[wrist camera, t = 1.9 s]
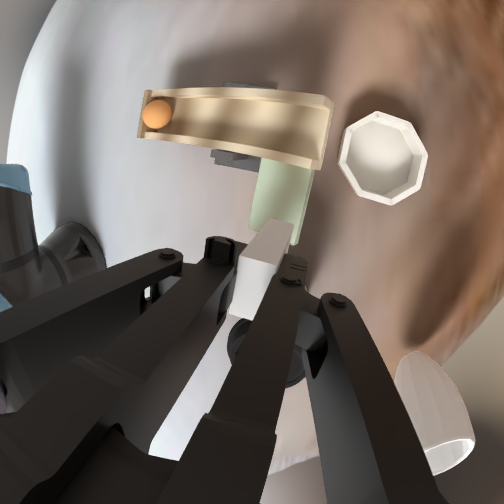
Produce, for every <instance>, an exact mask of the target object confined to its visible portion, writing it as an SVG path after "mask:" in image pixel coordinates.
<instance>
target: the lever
mask: <svg viewBox="0 0 504 504" xmlns="http://www.w3.org/2000/svg"><path fill="white" fill-rule="evenodd" d="M154 100H162V101H165V102H166V103H168V104H169V106H170V107H171V110H172V116H171V119H170V121H169V122H168V123H167V124H166V125H165V126H163V127H161V128H151V127H148V126H147V125H146V124H145V123H144V121H143V118H142V113H143V110H144V108H145V106H146V105H147V104H148V103H150V102H152V101H154ZM333 109H334V103H333V102H332V101H331V100H330V99H328V98H327V97H326V96H325V95H318V94H311V93H303V92H294V91H285V90H273V89H258V88H232V87H204V88H179V89H164V90H145V92H144V98H143V103H142V108H141V114H140V120H139V127H138V133H137V138H147V139H156V140H164V141H171V142H178V143H185V144H192V145H198V146H204V147H210V148H216V149H222V150H227V151H232V152H237V153H242V154H247V155H252V156H257V157H261V163H260V168H259V174H258V179H257V184H256V189H255V194H254V199H253V205H252V210H251V215H250V220H249V226H248V228H249V229H252V230H255V231H257V232H259V231H260V230H261V228H262V227H263V226H264V225H265V224H266V222H267V221H268V220H269V219H270V218H272V219H276V220H280V221H284V222H288V223H292V224H294V228H293V232H292V237H291V241H290V244H291V245H296V244H298V240H299V236H300V232H301V228H302V224H303V220H304V216H305V212H306V207H307V203H308V199H309V195H310V190H311V186H312V182H313V177H314V173H315V170H321V167H322V162H323V158H324V153H325V148H326V144H327V139H328V134H329V129H330V124H331V119H332V114H333Z"/></svg>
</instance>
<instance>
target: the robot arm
mask: <svg viewBox="0 0 504 504" xmlns="http://www.w3.org/2000/svg"><path fill="white" fill-rule="evenodd" d="M31 195H32V192H31V191H30V183H29V174H28V171H27V169H26V168H25V167H24V166H22V165H19V164H0V504H260V503H259V502H260V499H261V496H262V492H263V489H264V485H265V482H266V478H267V475H268V471H269V467H270V464H271V460H272V456H273V452H274V448H275V444H276V438H277V435H276V434H275V429H276V425H277V421H278V417H279V413H280V409H281V404H282V400H283V396H284V391H285V387H286V382H287V378H288V373H289V369H290V364H291V359H292V354H293V349H294V344H296V345H298V346H300V347H302V359H303V364H304V369H305V374H306V380H307V385H308V390H309V396H310V401H311V407H312V412H313V418H314V424H315V429H316V435H317V441H318V447H319V453H320V459H321V466H322V471H323V478H324V485H325V491H326V497H327V504H449V503H448V502H447V501H446V500H445V498H444V497H443V496H442V494H441V493H440V492H439V490H438V488H437V485H436V482H435V479H434V476H433V474H432V471H431V468H430V466H429V463H428V460H427V458H426V455H425V453H424V450H423V448H422V445H421V443H420V440H419V438H418V436H417V433H416V431H415V428H414V426H413V424H412V421H411V419H410V417H409V414H408V412H407V410H406V408H405V405H404V403H403V401H402V399H401V397H400V394H399V392H398V390H397V388H396V386H395V384H394V382H393V380H392V377H391V375H390V373H389V371H388V369H387V367H386V365H385V363H384V361H383V359H382V357H381V355H380V353H379V351H378V349H377V347H376V345H375V343H374V341H373V339H372V337H371V335H370V333H369V331H368V329H367V328H366V326H365V324H364V322H363V320H362V318H361V316H360V314H359V313H358V311H357V309H356V307H355V305H354V304H353V302H352V301H351V300H350V299H348V298H347V297H346V296H344V295H343V296H342V295H341V294H336V293H326V294H323V295H322V296H321V299H318V298H316V297H314V296H312V295H311V294H309V293H308V292H307V291H306V290H305V282H304V280H305V274H306V268H307V262H306V261H305V259H304V258H301V257H297V256H293V255H290V254H287V253H288V249H289V245H290V241H291V237H292V232H293V228H294V224H292V223H288V222H284V221H280V220H276V219H272V218H270V219H269V220H268V221H267V222H266V224H265V225H264V226H263V227H262V228H261V230H260V231H259V232H258V233H257V234H256V236H255V237H254V238H253V239H252V241H251V242H250V243H249V244H245V243H241V242H237V241H234V240H233V239H230V238H227V237H221V236H212V237H208V238H206V244H205V252H204V258H202V259H201V260H200V261H199V262H198V263H197V264H190V263H183V255H182V253H180V252H179V251H176V250H174V249H171V248H170V249H169V248H165V249H158V250H154V251H152V252H149V253H146V254H143V255H141V256H138V257H135V258H133V259H130V260H127V261H125V262H122V263H119V264H117V265H114V266H112V267H109V268H106V264H105V260H104V256H103V253H102V251H101V248H100V246H99V244H98V242H97V241H96V239H95V238H94V236H93V235H92V234H91V233H90V232H89V231H88V230H87V229H86V228H85V227H84V226H82V225H80V224H78V223H74V222H70V223H67V224H64V225H62V226H59V227H58V228H56V229H55V230H54V232H52V233H51V234H50V235H49V236H48V237H47V238H46V239H45V240H44V241H43V242H42V243H41V244H40V245H39V246H38V243H37V238H36V232H35V225H34V218H33V211H32V200H31ZM149 286H150V297H148V298H145V293H144V290H145V289H146V288H147V287H149ZM230 304H231V305H230ZM229 306H230V310H229V314H232V315H235V316H239V317H242V318H245V319H249V320H252V323H251V325H250V327H249V330H248V332H247V334H246V336H245V338H244V341H243V343H242V345H241V347H240V349H239V351H238V354H237V356H236V358H235V360H234V362H233V364H232V366H231V369H230V371H229V373H228V375H227V377H226V379H225V381H224V383H223V386H222V388H221V390H220V392H219V394H218V396H217V398H216V400H215V402H214V404H213V406H212V408H211V410H210V412H209V413H208V414H207V413H205V414H204V415H203V416H202V418H201V420H200V422H199V423H198V425H197V427H196V429H195V431H194V433H193V435H192V437H191V439H190V441H189V443H188V445H187V447H186V448H185V450H184V452H183V454H182V456H181V458H180V460H179V461H176V460H170V459H165V458H161V457H156V456H152V455H148V453H149V448H150V444H151V442H152V440H153V438H154V436H155V435H156V433H157V431H158V430H159V428H160V427H161V425H162V423H163V422H164V420H165V418H166V417H167V415H168V414H169V412H170V410H171V409H172V407H173V405H174V404H175V402H176V400H177V399H178V397H179V396H180V394H181V392H182V391H183V389H184V387H185V386H186V384H187V382H188V381H189V379H190V377H191V376H192V374H193V373H194V371H195V369H196V368H197V366H198V364H199V363H200V361H201V359H202V358H203V356H204V354H205V353H206V351H207V349H208V348H209V346H210V344H211V343H212V341H213V339H214V338H215V336H216V334H217V333H218V331H219V329H220V328H221V326H222V324H223V323H224V321H225V319H226V314H227V309H228V307H229Z"/></svg>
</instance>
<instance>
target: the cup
mask: <svg viewBox="0 0 504 504" xmlns="http://www.w3.org/2000/svg"><path fill="white" fill-rule="evenodd" d="M394 384H395V386H396V388H397V390H398V392H399V394H400V397H401V399H402V401H403V403H404V405H405V408H406V410H407V412H408V414H409V417H410V419H411V421H412V424H413V426H414V428H415V431H416V433H417V436H418V438H419V440H420V443H421V445H422V448H423V450H424V453H425V455H426V458H427V460H428V463H429V466H430V468H431V471H432V474H433V476H434V475H437V474H439V473H442V472H444V471H446V470H448V469H450V468H452V467H453V466H455V465H457V464H458V463H459V462H461V461H462V460H463V459H465V458H466V457H467V456H468V455H469V453H470V452H471V451H472V450H473V448H474V444H475V436H474V432H473V429H472V426H471V422H470V418H469V415H468V412H467V409H466V407H465V404H464V402H463V400H462V398H461V396H460V394H459V391H458V389H457V387H456V385H455V384H454V383H453V382H452V380H451V379H450V378H449V376H448V375H447V374H446V373H445V371H444V370H443V369H442V368H441V367H440V366H439V365H438V364H437V363H436V362H435V361H434V360H433V359H432V358H430V357H429V356H428V355H426V354H425V353H423V352H421V351H412V352H409V353H407V354H406V355H404V356H403V357H402V358H401V360H400V361H399V364H398V367H397V371H396V374H395V380H394Z"/></svg>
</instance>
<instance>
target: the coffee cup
mask: <svg viewBox="0 0 504 504" xmlns="http://www.w3.org/2000/svg"><path fill="white" fill-rule="evenodd" d="M305 290H306V291H307V288H306V286H305ZM251 323H252V320H249V319H245V318H242V319H241V320H239V321H238V322H237V323H236V324H235V325H234V326H233V328H232V329H231V331H230V333H229V336H228V342H227V352H228V356H229V358H230V361H231V364H233V362H234V360H235V358H236V356H237V354H238V351H239V349H240V347H241V345H242V343H243V341H244V338H245V336H246V334H247V332H248V330H249V327H250V325H251ZM305 377H306V374H305V369H304V364H303V359H302V347H300V346H298V345H296V344H294V349H293V354H292V359H291V364H290V369H289V373H288V378H287V382H286V387H285V388H288V387H291V386H294V385H296V384H297V383H299V382H300V381H301V380H302V379H303V378H305Z"/></svg>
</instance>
